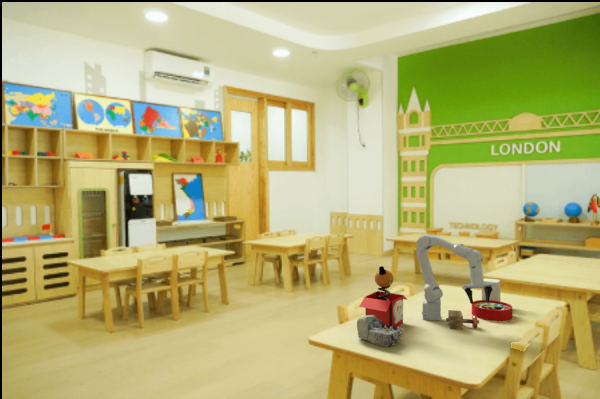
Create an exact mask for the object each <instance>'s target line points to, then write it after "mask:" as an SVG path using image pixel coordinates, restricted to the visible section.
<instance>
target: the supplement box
mask: <svg viewBox="0 0 600 399" xmlns="http://www.w3.org/2000/svg"><path fill="white" fill-rule="evenodd" d="M483 281H484V283H491V282H492V283H493V285H494V287H491V288H492V292H491V294H490V298H489V300H493V301H500V302H501V279H496V278H485V277H483ZM481 300H486V297H485V291H484V288H481Z"/></svg>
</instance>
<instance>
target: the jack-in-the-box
mask: <svg viewBox="0 0 600 399" xmlns="http://www.w3.org/2000/svg"><path fill="white" fill-rule="evenodd" d="M384 267H385V266H379V267H378V271H377V272H376V274H375V276H374V281H375V283H376V285H377V286H379V287H377V291H374V292H372V293H370V294H368V295H366V296H364V297H363V299H362V301H361V303H360V304H359V306H358V307H359V308H364V309H365V316H367V315H375V316H376V317H377V319H378V320H381V321H382V322H383V323H384V325H385V326H386V325H387V324H389V325H390V326H392V325H393V324H395V325H396V327H398V326H399V327H401V326H402V325H403V324H404V300H405V301H406V300H408V298H407V297H406V296H405V295H404V294H400V293H393V292H390V291H389V290H387V289H389V288H391V286H392V284H393V283H394V275H393V273H392V272H391V271H389V270H388V269H385V268H384ZM401 324H402V325H401Z"/></svg>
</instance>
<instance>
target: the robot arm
mask: <svg viewBox="0 0 600 399" xmlns="http://www.w3.org/2000/svg"><path fill="white" fill-rule="evenodd" d="M433 246H440V247H443V248H445V249H448V250H450V251H452V252H453V255H456V256H458V257H460V258H462V259H464V260H466V261H467V262H468V264H469V266H468V267H469V268H468V269H469V275H470V276H469V277H470V283H468V284H461V289H462V290H464V293H465V294H466V295H467V298H468V300H469V303H470V304H471V305H472V304H473V302H474V299H473V290H472V289H480V288H481V289H482V288H484V291H485V297H486V302H487V303H489V298H490V294H491V292H492V288H491V287H494V285H493V283H492V282H491V283H484V281H483V279H484V274H483V265H482V259H483V253H482V252H481V251H480V250H478V249H474V248H473V247H468V246H465V244H464V243H456V244H455V243H452V242H451V241H448V240H446V239H444V238H442V237H440V236H439V235H436V234H432V233H427V234H425V235H423V234H422V235H420V236H419V237H418V239H416V247H415V253H416V254H415V255H416V257H417V261H418V264H419V267H420V271H421V274H422V278H423V281H424V288H423V291H424V295H423V296H424V299H425V300H422V311H421V315H422V320H424V321H425V320H426V321H427V320H428V321H440V322H441V321H443V319H442V312H441V311H442V308H441V304H442V302H441V298H442V297H443V295H444V294H443V290H442V289H441V288H440V285H439V284H438V283H437V282H436V279H435V276H434V272H433V269H432V264H431V262H430V259H429V256H428V252H429V251H430V249H431V248H432V247H433Z"/></svg>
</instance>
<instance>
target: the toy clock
mask: <svg viewBox="0 0 600 399" xmlns="http://www.w3.org/2000/svg"><path fill="white" fill-rule="evenodd" d="M471 315H474V316H477V319H480V320H484V321H490V322H507V321H511V320H513V305H511V304H510V303H507V302H503V301H501V300H500V301H493V300H489V303H487V302H486V300H482V299H479V300H473V304H471Z"/></svg>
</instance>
